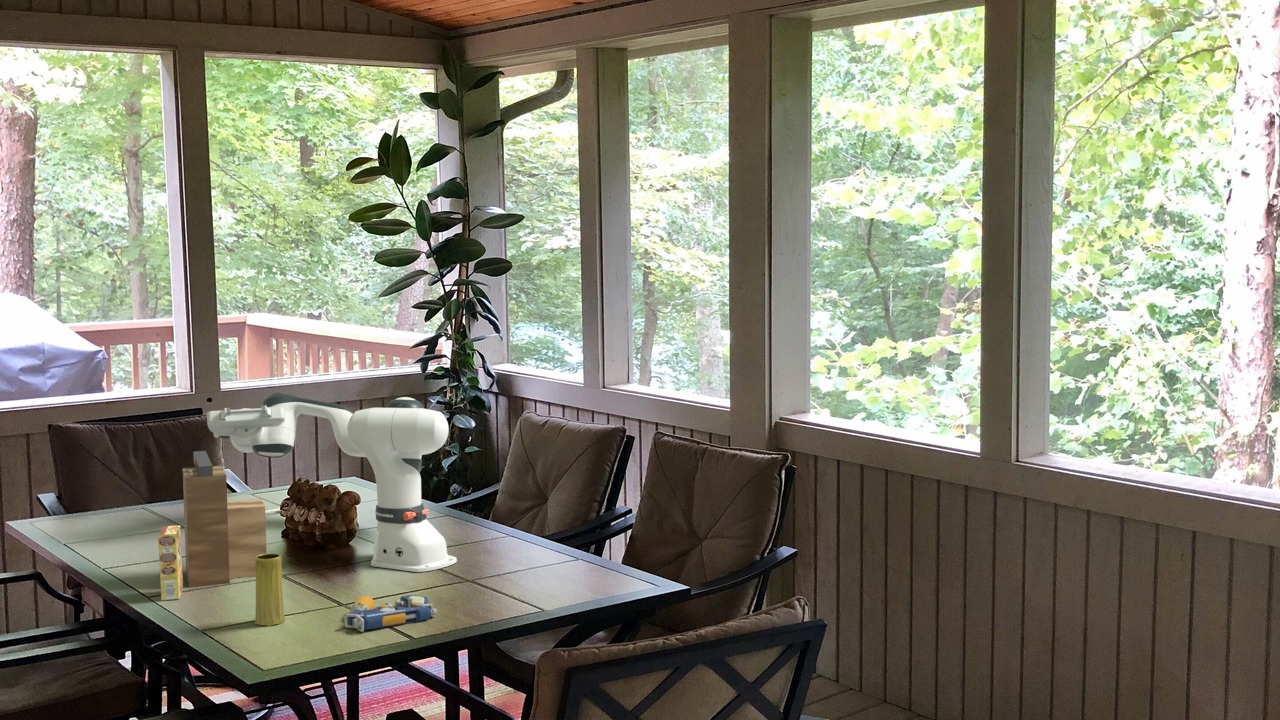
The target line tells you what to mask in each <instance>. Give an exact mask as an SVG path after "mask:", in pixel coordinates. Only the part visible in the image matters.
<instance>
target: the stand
mask: <svg viewBox="0 0 1280 720" xmlns="http://www.w3.org/2000/svg"><path fill="white" fill-rule="evenodd" d="M212 466H213V465H212ZM182 485H183V487H182V489H183V515H184V517H183V518H184V520H183V521H184V541H185V542H184V543H185V568H186V569H185V570H186V571H185V572H186V577H187V583H188V582H189V583H188V585H189V588H193V587H194V586H196V587H203V586H215V585H223V584H224V585H225V584H230V580H231V579H239V578H238V577H242V578H250V577H249V576H252V577H256V566H255V557H256V556H258V555H261V554H267V553H268V552H267V525H266V524H267V521H266V513H265V511H266V505H265V504H264V502H263V500H262V499H261V498H253V499H252V498H251V499H240V500H237V499H236V500H228V493H227V491H228V489H227V487H228V486H227V474H226V471H225V470H224V468H223V466H222V465H214V466H213V476H206V477H199V475H198V472H197V469H196V467H183V468H182ZM194 588H195V587H194Z"/></svg>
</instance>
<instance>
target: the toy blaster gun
mask: <svg viewBox="0 0 1280 720" xmlns="http://www.w3.org/2000/svg"><path fill="white" fill-rule="evenodd" d="M437 614H438V610H437V608H433V604H432V603H430V601H429V599H428V596H425V595H424V596H423V595H417V594H416V595H415V594H409V595H402V596H401V597H400V598H399V599H396V600H395V601H394V605H392V604H391V603H390V602H385V604H384V605H380V606H376V604H375V601H374V599H373V598H372V597H370V596H368V595H362V596H359V597H358V598H357V599H356V600H355V602H354V603H353V604H352V606H351V607H350V611H349V613H346V614H345V615H344V621H343V622H344V627H345V628H346V629H356V630H357V631H359V632H361V633H363V632H364V631H369V630H370V629H371V630H375V629H382V628H388V627H394V626H395V625H396V626H400V625H401V624H402V625H407V624H406V623H408V624H413V623H419V622H423V620H425V621H428V620H429V618H431V616H432V617H433V616H435V615H437ZM418 621H419V622H418ZM412 622H413V623H412Z"/></svg>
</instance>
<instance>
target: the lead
mask: <svg viewBox="0 0 1280 720" xmlns="http://www.w3.org/2000/svg"><path fill="white" fill-rule="evenodd" d="M192 459H193V461H192V462H193V464H194V466H195V467H196V469H197V472H198V475H199V477H206V476H213V464H212V461H211V459H210V457H209V455H208V453H207V451H206V450H200V451H199V450H197V451H192Z"/></svg>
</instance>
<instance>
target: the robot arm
mask: <svg viewBox="0 0 1280 720" xmlns="http://www.w3.org/2000/svg"><path fill="white" fill-rule="evenodd" d="M262 402H263V403H262V405H261V407H260V408H248V407H244V408H240V409H231V407H224V409H223V410H211V411H210V410H209V411H207V412H206V421H207V422H206V423H207V424H206V425H207V427H208V430H209V431H210V432H211V433H213V437H214V438H216V439H218V438H219V439H229V440H230V442H231V444H232V446H233V447H234V448H235V449H236V450H238V452H241V453H246V454H249V453H250V454H251V453H255V454H257V455H258V456H261V457H265V458H271V459H274V458H275V459H277V458H282V457H284V456H286V455H287V454H289V453H291V452H292V451H293V450H294V447H295V440H296V432H297V423H298V417H299V416H300V415H306V416H312V417H313V416H314V417H318V418H319V417H320V418H323V419H327V420H328V421H329V423H330V424H331V427H332V431H333V434H334V437H335V440H336V442H337V445H338V447H339V449H341V451H342V452H344V454H346V455H348V456H352V457H356V458H357V457H358V458H367V460H368V462H369V463H370V465H371V468H372V471H373V473H374V478H375V484H376V496H377V497H376V498H377V504H376V505H375V511H374V513H375V520H377V521H376V522H377V525H376V529H375V532H374V543H373V553H372V558H371V561H370V566H371V567H375V568H376V567H377V568H384V569H391V570H399V571H405V572H415V573H424V572H428V571H429V572H430V571H435V570H439V569H444V568H445V567H449V566H451V565H454V564H455V563H457V562H458V560H457V556H453V555H450V554H448V549H447V542H446V539H445V537H444V536H443V535H442V534H441V533H440V532H439V531H438V530H437V529H436V527H434V526H433V524H431V523H430V522H429V521H428V519H427V518H428V515H427V514H430V512H428V511H430V509H429V508H425V506H424V503H422V478H421V477H422V476H421V474H420V473H419V471H420V470H421V468H422V463H423V459H422V456H423V455H429V454H432V453H434V452H436V451H437V450H440V449H441V448H442V447H443V446H444V445H445V443H446V442H447V440H448V437H449V432H450V431H449V430H450V429H449V426H450V425H449V423H448V420H447V418H446V417H445V415H444V414H443V413H442V412H441V411H438V410H433V409H428V408H424V406H423V404H422V403H421V402H420V401H419V400H417V399H415V398H412V397H408V396H402V397H397V398H395V399H391V400H390V401H389V402H388V403H387V406H386V407H370V408H363V409H359V410H356V411H355V412H353V410H352V409H351V408H349V407H347V406H344V405H341V404H338V403H333V402H327V401H321V400H317V399H312V398H305V397H300V396H296V395H294V394H293V395H292V394H289V393H285V392H273V393H271V394H270V395H269V396H268V397H266V398H265V399H264V400H263V401H262Z"/></svg>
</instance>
